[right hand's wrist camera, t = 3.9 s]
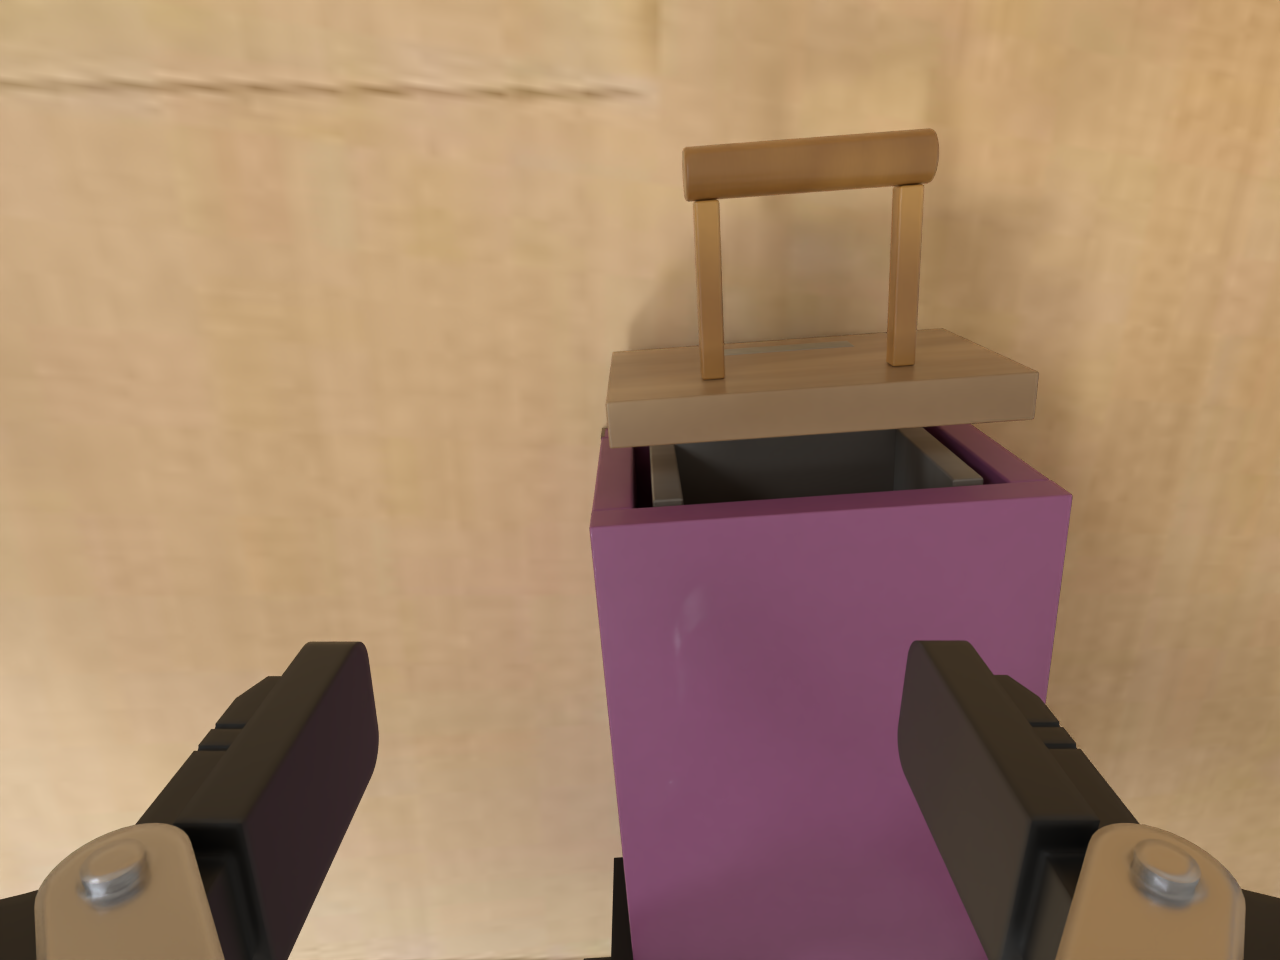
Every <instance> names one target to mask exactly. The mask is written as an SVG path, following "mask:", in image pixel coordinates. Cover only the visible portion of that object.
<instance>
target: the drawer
mask: <svg viewBox="0 0 1280 960" xmlns="http://www.w3.org/2000/svg"><path fill="white" fill-rule="evenodd" d="M938 159H939V144H938V138H937V134H936V132H935V131H934V130H932V129H917V130H904V131H890V132H877V133H864V134H851V135H838V136H825V137H812V138H799V139H785V140H772V141H759V142H746V143H733V144H720V145H707V146H694V147H685V148H684V149H683V153H682V170H683V187H684V196H685V199H686V201H694V203H693V215H694V238H695V260H696V283H697V305H698V328H699V346H690V347H676V348H662V349H648V350H634V351H620V352H613V354H612V361H611V368H610V376H609V384H608V391H607V399H606V412H607V424H608V435H609V446H610V448H612V449H614V448H628V447H643V446H649V451H650V469H651V486H652V503H653V507H663V506H678V505H693V504H708V503H722V502H737V501H752V500H767V499H781V498H796V497H811V496H826V495H840V494H855V493H870V492H884V491H899V490H914V489H929V488H943V487H958V486H973V485H983V478H982V477H981V476H980V475H979V474H978V473H976V472H975V471H974V470H973V469H972V468H970V467H969V466H968V465H967V464H966V463H964V462H963V461H962V460H961V459H960V458H958V457H957V456H956V455H955V454H954V453H952V452H951V451H950V450H949V449H948V448H946V447H945V446H944V445H943V444H942V443H940V442H939V441H938V440H937V439H936V438H934V437H933V436H932V435H931V434H930V433H928V432H927V431H926V430H925V429H924V428H922V427H931V426H946V425H960V424H975V423H989V422H1003V421H1018V420H1031V419H1034V413H1035V404H1036V395H1037V386H1038V376H1039V373H1038V372H1037V371H1035V370H1032V369H1030V368H1028V367H1026V366H1024V365H1022V364H1019V363H1017V362H1015V361H1013V360H1011V359H1008V358H1006V357H1004V356H1002V355H1000V354H997V353H995V352H993V351H991V350H989V349H987V348H984V347H982V346H980V345H978V344H976V343H973V342H971V341H969V340H967V339H965V338H963V337H960V336H958V335H956V334H954V333H952V332H949V331H947V330H945V329H943V328H941V329H927V330H917V315H918V295H919V276H920V257H921V238H922V218H923V199H924V185H922V184H927V183H929V182H931V181H932V179H933V178H934V176H935V173H936V170H937V166H938ZM888 186H894V188H893V201H892V227H891V252H890V278H889V303H888V329H887V332H885V333H871V334H857V335H843V336H829V337H815V338H801V339H787V340H773V341H759V342H746V343H732V344H724V330H723V300H722V270H721V240H720V210H719V201H718V200H715V199H728V198H741V197H755V196H768V195H781V194H795V193H808V192H821V191H835V190H848V189H861V188H875V187H888Z"/></svg>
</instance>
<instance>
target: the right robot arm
mask: <svg viewBox="0 0 1280 960" xmlns="http://www.w3.org/2000/svg"><path fill="white" fill-rule="evenodd" d="M897 739H898V751H899V758H900V762H901V766H902V769H903V772H904V775H905V777H906V779H907V781H908V784H909V786H910V788H911V790H912V792H913V795H914V797H915V799H916V801H917V803H918V806H919V808H920V810H921V812H922V814H923V817H924V819H925V821H926V823H927V825H928V828H929V830H930V832H931V834H932V837H933V839H934V841H935V843H936V845H937V848H938V850H939V852H940V854H941V856H942V859H943V861H944V863H945V865H946V867H947V870H948V872H949V874H950V876H951V878H952V881H953V883H954V885H955V887H956V889H957V892H958V894H959V896H960V898H961V901H962V903H963V905H964V907H965V909H966V912H967V914H968V916H969V918H970V920H971V923H972V925H973V927H974V929H975V931H976V934H977V936H978V938H979V940H980V942H981V945H982V947H983V949H984V951H985V953H986V956H987V958H988V960H1280V898H1276V897H1272V896H1268V895H1264V894H1260V893H1255V892H1251V891H1247V890H1244V889H1241V888H1240V886H1239V885H1238V883H1237V881H1236V880H1235V879H1234V877H1233V876H1232V875H1231V874H1230V872H1229V871H1228V870H1227V869H1226V868H1225V867H1224V866H1223V865H1222V864H1221V863H1220V862H1219V861H1217V860H1216V859H1215V858H1214V857H1212V856H1211V855H1210V854H1209V853H1207V852H1206V851H1204V850H1203V849H1201V848H1200V847H1198V846H1197V845H1195V844H1193V843H1191V842H1189V841H1188V840H1186V839H1184V838H1182V837H1180V836H1177V835H1175V834H1173V833H1170V832H1168V831H1165V830H1162V829H1159V828H1155V827H1151V826H1147V825H1142V824H1139V823H1138V821H1137V820H1136V819H1135V818H1134V816H1133V815H1132V814H1131V812H1130V811H1129V810H1128V809H1127V807H1126V806H1125V805H1124V804H1123V802H1122V801H1121V800H1120V799H1119V797H1118V796H1117V795H1116V793H1115V792H1114V791H1113V790H1112V788H1111V787H1110V786H1109V785H1108V783H1107V782H1106V781H1105V780H1104V778H1103V777H1102V776H1101V774H1100V773H1099V772H1098V771H1097V769H1096V768H1095V767H1094V766H1093V764H1092V763H1091V762H1090V760H1089V759H1088V758H1087V757H1086V755H1085V754H1084V753H1083V752H1082V750H1081V749H1077V748H1076V743H1075V741H1074V740H1073V739H1072V738H1071V736H1070V735H1069V734H1068V733H1067V731H1066V730H1065V729H1064V728H1063V727H1060V726H1059V721H1058V720H1057V719H1056V717H1055V716H1054V715H1053V714H1052V712H1051V711H1050V710H1049V709H1048V707H1047V706H1046V705H1045V703H1044V702H1043V701H1042V700H1041V698H1040V697H1039V696H1037V695H1036V694H1035V693H1033V692H1032V691H1030V690H1029V689H1027V688H1026V687H1024V686H1023V685H1021V684H1020V683H1019V682H1017V681H1016V680H1014V679H1013V678H1011V677H1010V676H1008V675H994V674H993V673H992V672H991V670H990V669H989V668H988V666H987V665H986V663H985V662H984V661H983V659H982V658H981V657H980V655H979V654H978V653H977V651H976V650H975V648H974V647H973V646H972V645H971V643H969V642H968V641H965V640H916V641H914V642H912V644H911V646H910V648H909V651H908V656H907V663H906V671H905V678H904V685H903V693H902V700H901V708H900V715H899V722H898V733H897ZM378 744H379V732H378V723H377V716H376V709H375V701H374V694H373V687H372V680H371V673H370V665H369V658H368V653H367V650H366V647H365V645H364V644H363V643H362V642H308V643H307V644H305V645H304V647H303V648H302V649H301V650H300V652H299V653H298V655H297V656H296V657H295V659H294V660H293V661H292V663H291V664H290V665H289V667H288V668H287V669H286V671H285V672H284V673H283V675H282V676H268V677H266V678H265V679H263V680H262V681H260V682H259V683H258V684H256V685H255V686H253V687H252V688H250V689H249V690H247V691H246V692H244V693H243V694H242V695H240V696H239V697H237V698H236V699H235V700H234V701H233V703H232V704H231V705H230V706H229V708H228V709H227V710H226V711H225V713H224V714H223V715H222V716H221V718H220V719H219V720H218V721H217V723H216V727H215V729H211V730H210V732H209V733H208V734H207V735H206V737H205V738H204V739H203V740H202V742H201V743H200V744H199V745H198V746H199V748H198V751H194V752H193V753H192V754H191V755H190V757H189V758H188V759H187V760H186V762H185V763H184V764H183V765H182V767H181V768H180V769H179V770H178V772H177V773H176V774H175V775H174V777H173V778H172V779H171V780H170V782H169V783H168V784H167V786H166V787H165V788H164V789H163V791H162V792H161V793H160V794H159V796H158V797H157V798H156V799H155V801H154V802H153V803H152V804H151V806H150V807H149V808H148V809H147V811H146V812H145V813H144V814H143V816H142V817H141V818H140V819H139V821H138V822H137V823H136V824H135V825H133V826H129V827H125V828H121V829H118V830H115V831H112V832H110V833H107V834H105V835H103V836H100V837H98V838H96V839H94V840H92V841H91V842H89V843H87V844H85V845H83V846H82V847H80V848H79V849H77V850H76V851H74V852H73V853H71V854H70V855H69V856H68V857H66V858H65V859H64V860H63V861H61V862H60V863H59V864H58V865H57V866H56V867H55V868H54V869H53V870H52V871H51V872H50V874H49V875H48V876H47V877H46V879H45V880H44V881H43V883H42V885H41V886H40V888H39V890H36V891H33V892H29V893H26V894H22V895H17V896H13V897H9V898H5V899H1V900H0V960H287V959H288V957H289V955H290V953H291V951H292V949H293V946H294V944H295V942H296V940H297V938H298V935H299V933H300V931H301V929H302V927H303V925H304V922H305V920H306V918H307V916H308V914H309V912H310V909H311V907H312V905H313V903H314V901H315V898H316V896H317V894H318V892H319V890H320V888H321V885H322V883H323V881H324V879H325V877H326V874H327V872H328V870H329V868H330V866H331V864H332V861H333V859H334V857H335V855H336V853H337V850H338V848H339V846H340V844H341V842H342V840H343V837H344V835H345V833H346V831H347V829H348V826H349V824H350V822H351V820H352V818H353V816H354V813H355V811H356V809H357V807H358V805H359V803H360V800H361V798H362V796H363V794H364V792H365V789H366V787H367V785H368V783H369V781H370V779H371V776H372V774H373V771H374V768H375V764H376V759H377V753H378Z"/></svg>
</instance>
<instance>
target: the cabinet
mask: <svg viewBox="0 0 1280 960" xmlns="http://www.w3.org/2000/svg"><path fill="white" fill-rule="evenodd" d="M922 428H924V429H925V430H926V431H927V432H928V433H930V434H931V435H932V436H933V437H934V438H936V439H937V440H938V441H939V442H940V443H942V444H943V445H944V446H945V447H946V448H948V449H949V450H950V451H951V452H952V453H954V454H955V455H956V456H957V457H958V458H960V459H961V460H962V461H963V462H964V463H966V464H967V465H968V466H969V467H970V468H972V469H973V470H974V471H975V472H976V473H978V474H979V475H980V476H981V477H982V478H983V485H973V486H958V487H943V488H929V489H914V490H899V491H884V492H870V493H855V494H840V495H826V496H811V497H796V498H781V499H767V500H752V501H737V502H722V503H708V504H693V505H678V506H663V507H653V503H652V486H651V469H650V451H649V446H643V447H628V448H614V449H612V448H610V446H609V435H608V429H606V428H602V433H601V447H600V454H599V462H598V470H597V477H596V485H595V493H594V500H593V508H592V514H591V521H590V538H591V548H592V558H593V568H594V578H595V587H596V597H597V607H598V617H599V627H600V637H601V646H602V656H603V666H604V676H605V686H606V696H607V706H608V715H609V725H610V735H611V745H612V755H613V765H614V774H615V784H616V794H617V804H618V814H619V824H620V833H621V843H622V853H623V863H624V873H625V883H626V893H627V902H628V912H629V922H630V932H631V942H632V952H633V960H988V958H987V956H986V953H985V951H984V949H983V947H982V945H981V942H980V940H979V938H978V936H977V934H976V931H975V929H974V927H973V925H972V923H971V920H970V918H969V916H968V914H967V912H966V909H965V907H964V905H963V903H962V901H961V898H960V896H959V894H958V892H957V889H956V887H955V885H954V883H953V881H952V878H951V876H950V874H949V872H948V870H947V867H946V865H945V863H944V861H943V859H942V856H941V854H940V852H939V850H938V848H937V845H936V843H935V841H934V839H933V837H932V834H931V832H930V830H929V828H928V825H927V823H926V821H925V819H924V817H923V814H922V812H921V810H920V808H919V806H918V803H917V801H916V799H915V797H914V795H913V792H912V790H911V788H910V786H909V784H908V781H907V779H906V777H905V775H904V772H903V769H902V766H901V762H900V758H899V751H898V739H897V733H898V722H899V715H900V708H901V700H902V693H903V685H904V678H905V671H906V663H907V656H908V651H909V648H910V646H911V644H912V642H914V641H916V640H965V641H968V642H969V643H971V645H972V646H973V647H974V648H975V650H976V651H977V653H978V654H979V655H980V657H981V658H982V659H983V661H984V662H985V663H986V665H987V666H988V668H989V669H990V670H991V672H992V673H993V674H994V675H1008V676H1010V677H1011V678H1013V679H1014V680H1016V681H1017V682H1019V683H1020V684H1021V685H1023V686H1024V687H1026V688H1027V689H1029V690H1030V691H1032V692H1033V693H1035V694H1036V695H1037V696H1039V697H1040V698H1041V700H1042V701H1043V702H1044V703H1046V695H1047V688H1048V680H1049V672H1050V665H1051V657H1052V649H1053V642H1054V634H1055V626H1056V619H1057V611H1058V603H1059V596H1060V588H1061V580H1062V573H1063V565H1064V557H1065V550H1066V542H1067V534H1068V527H1069V519H1070V511H1071V504H1072V494H1070V493H1069V492H1067V491H1066V490H1065V489H1063V488H1062V487H1060V486H1059V485H1057V484H1056V483H1055V482H1053V481H1051V480H1049V479H1048V478H1046V477H1045V476H1044V475H1042V474H1041V473H1039V472H1038V471H1037V470H1035V469H1034V468H1032V467H1031V466H1029V465H1028V464H1027V463H1025V462H1024V461H1022V460H1021V459H1020V458H1018V457H1017V456H1015V455H1014V454H1012V453H1011V452H1010V451H1008V450H1007V449H1005V448H1004V447H1002V446H1001V445H1000V444H998V443H997V442H995V441H994V440H993V439H991V438H990V437H988V436H987V435H985V434H984V433H983V432H981V431H980V430H978V429H977V428H975V427H974V426H973V425H971V424H960V425H946V426H931V427H922Z"/></svg>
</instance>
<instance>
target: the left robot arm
mask: <svg viewBox="0 0 1280 960" xmlns="http://www.w3.org/2000/svg"><path fill="white" fill-rule="evenodd" d="M584 960H633V952H632V942H631V932H630V922H629V912H628V902H627V893H626V883H625V873H624V863H623V857H621V858H614V879H613V914H612V948H611V957H603V958H586V959H584Z"/></svg>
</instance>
